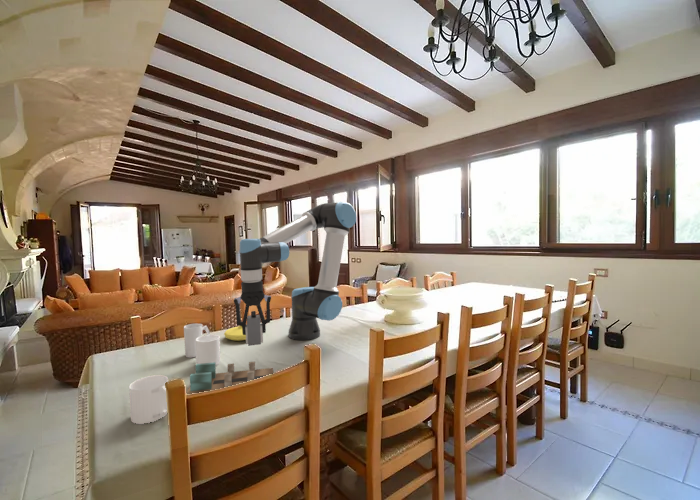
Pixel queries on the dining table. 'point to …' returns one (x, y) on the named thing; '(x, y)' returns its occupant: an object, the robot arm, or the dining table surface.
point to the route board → (222, 377)
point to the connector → (253, 329)
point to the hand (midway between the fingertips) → (254, 341)
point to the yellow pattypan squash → (235, 334)
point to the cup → (208, 349)
